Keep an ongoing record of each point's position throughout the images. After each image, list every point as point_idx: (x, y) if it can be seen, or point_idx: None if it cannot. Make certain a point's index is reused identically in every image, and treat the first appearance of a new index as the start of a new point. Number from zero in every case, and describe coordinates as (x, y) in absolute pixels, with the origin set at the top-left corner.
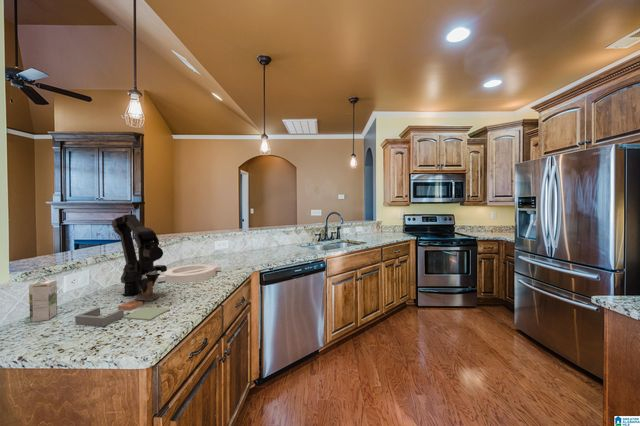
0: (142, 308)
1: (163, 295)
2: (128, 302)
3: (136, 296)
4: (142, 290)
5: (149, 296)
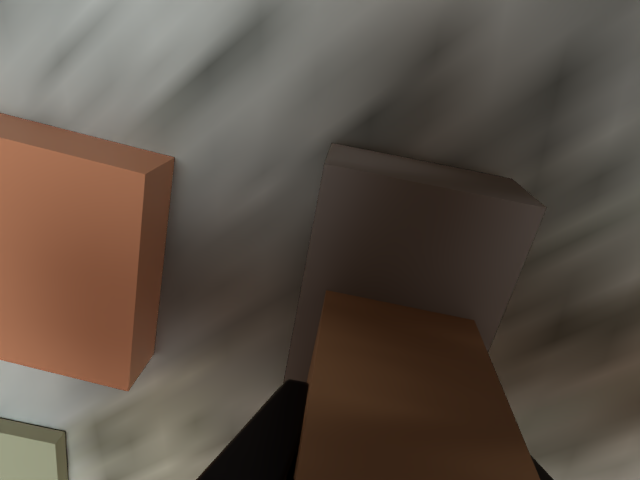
0: (8, 442)
1: (570, 432)
2: (45, 185)
3: (327, 160)
4: (257, 421)
5: None
